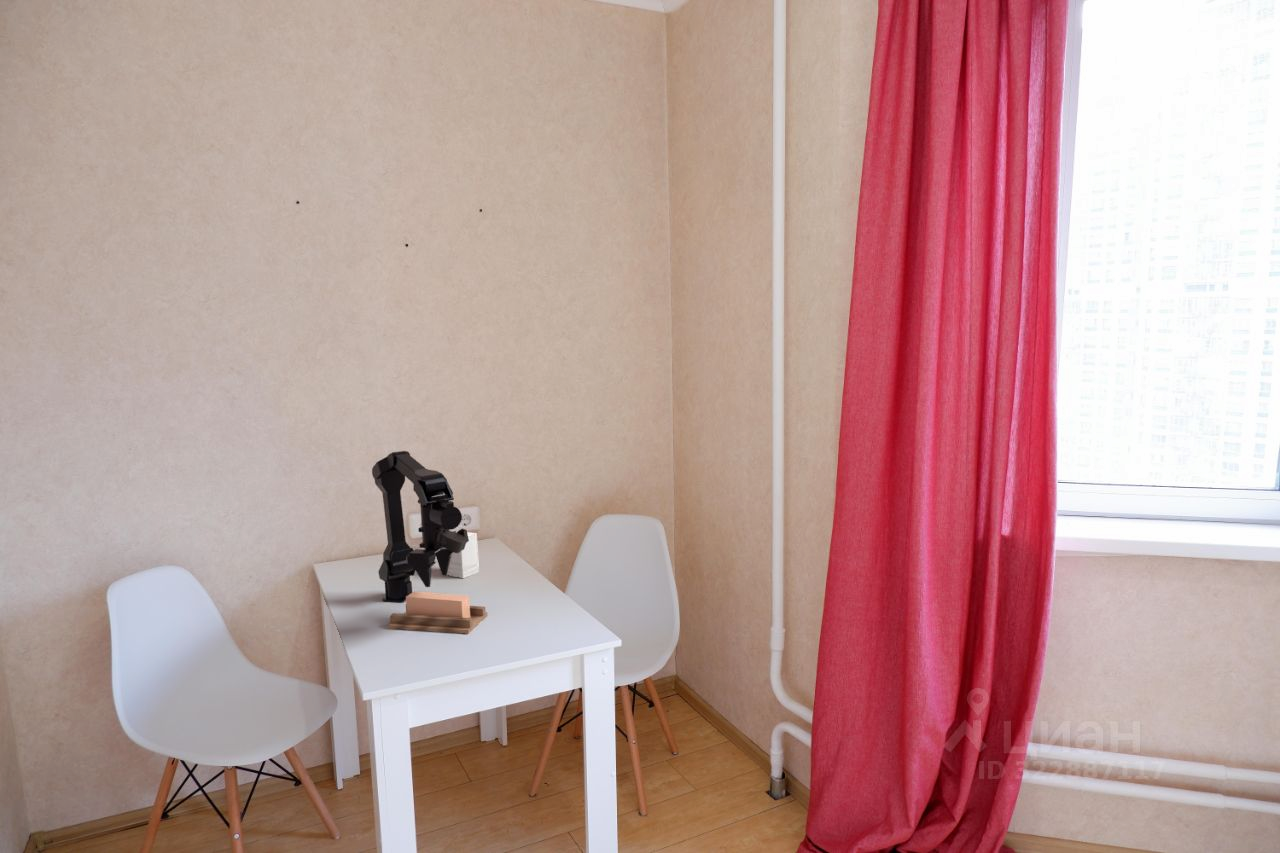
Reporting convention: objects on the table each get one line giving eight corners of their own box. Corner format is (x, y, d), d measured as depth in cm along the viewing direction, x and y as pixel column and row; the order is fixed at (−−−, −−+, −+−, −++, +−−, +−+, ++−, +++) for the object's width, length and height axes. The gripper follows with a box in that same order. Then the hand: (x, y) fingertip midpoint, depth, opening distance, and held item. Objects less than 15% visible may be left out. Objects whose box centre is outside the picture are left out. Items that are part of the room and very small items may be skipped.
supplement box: (480, 572, 236) (478, 533, 235) (462, 579, 230) (460, 538, 228) (463, 568, 240) (460, 530, 239) (445, 575, 234) (443, 535, 232)
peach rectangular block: (407, 619, 196) (405, 596, 195) (415, 613, 200) (414, 591, 199) (462, 623, 192) (461, 601, 191) (470, 617, 196) (469, 595, 195)
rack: (388, 628, 192) (387, 617, 192) (411, 611, 204) (410, 600, 204) (468, 633, 188) (467, 622, 187) (487, 615, 199) (487, 605, 199)
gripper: (445, 533, 182) (448, 595, 184) (477, 514, 200) (480, 571, 202) (403, 531, 185) (407, 592, 187) (438, 513, 203) (442, 569, 205)
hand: (436, 581), depth 195 cm, fingers open, 9 cm apart
